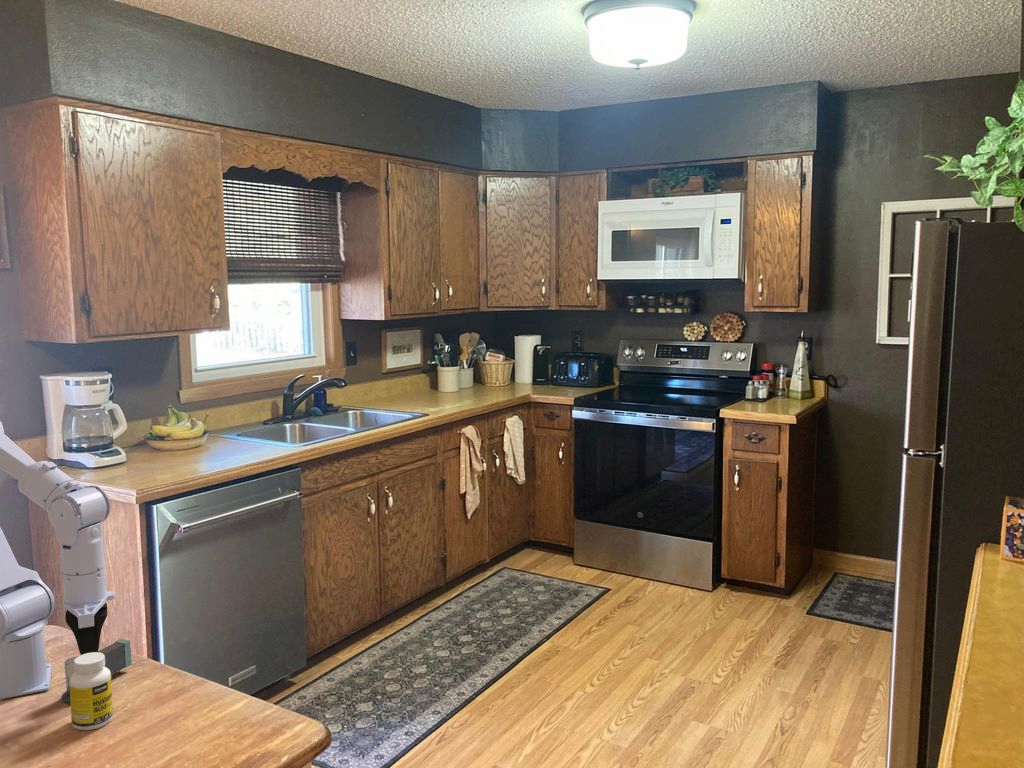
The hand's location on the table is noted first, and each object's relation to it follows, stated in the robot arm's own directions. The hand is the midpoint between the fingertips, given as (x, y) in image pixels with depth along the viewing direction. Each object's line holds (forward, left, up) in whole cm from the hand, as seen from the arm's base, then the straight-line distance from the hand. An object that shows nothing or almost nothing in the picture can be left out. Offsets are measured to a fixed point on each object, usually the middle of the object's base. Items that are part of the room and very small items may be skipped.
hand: (89, 655), depth 127 cm
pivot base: (-2, -2, -7) cm, 8 cm away
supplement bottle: (+6, 0, -8) cm, 10 cm away
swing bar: (-5, +1, -6) cm, 8 cm away
